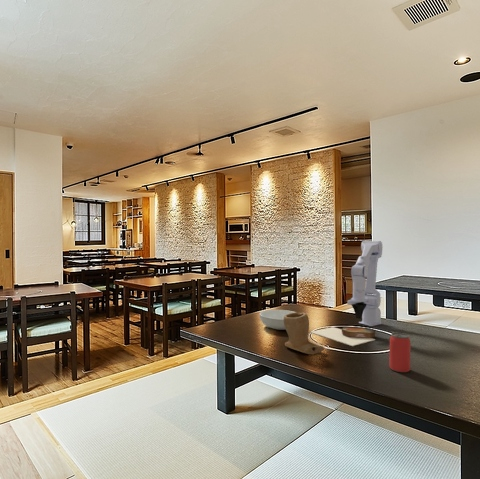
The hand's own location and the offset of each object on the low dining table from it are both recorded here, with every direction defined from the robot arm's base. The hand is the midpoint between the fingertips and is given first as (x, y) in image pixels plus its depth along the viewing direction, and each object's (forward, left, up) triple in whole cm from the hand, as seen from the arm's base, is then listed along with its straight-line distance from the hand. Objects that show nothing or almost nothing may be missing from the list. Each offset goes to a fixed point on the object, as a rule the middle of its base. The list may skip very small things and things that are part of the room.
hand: (358, 318), depth 164 cm
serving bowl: (+26, -27, -7) cm, 38 cm away
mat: (+12, 0, -7) cm, 14 cm away
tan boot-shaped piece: (+42, +4, -7) cm, 43 cm away
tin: (+3, +1, -5) cm, 6 cm away
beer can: (+27, +37, -7) cm, 47 cm away
